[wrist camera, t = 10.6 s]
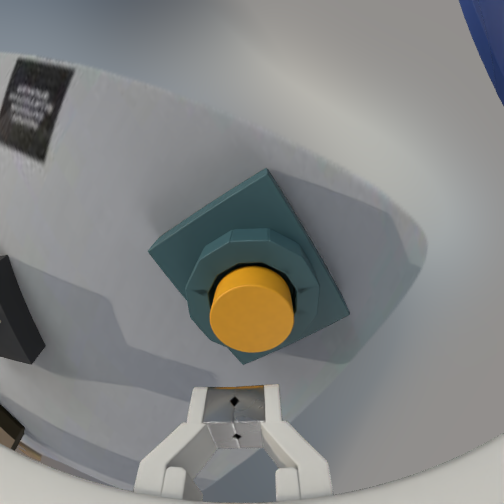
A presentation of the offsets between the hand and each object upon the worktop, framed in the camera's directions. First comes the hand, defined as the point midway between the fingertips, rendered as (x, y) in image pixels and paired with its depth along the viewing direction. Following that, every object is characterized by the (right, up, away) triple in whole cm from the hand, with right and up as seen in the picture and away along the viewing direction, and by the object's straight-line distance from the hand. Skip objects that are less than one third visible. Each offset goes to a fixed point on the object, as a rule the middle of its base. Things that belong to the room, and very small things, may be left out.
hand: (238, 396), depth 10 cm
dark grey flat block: (-27, 0, +12) cm, 29 cm away
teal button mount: (+1, +4, +9) cm, 10 cm away
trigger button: (+1, +3, +6) cm, 6 cm away
